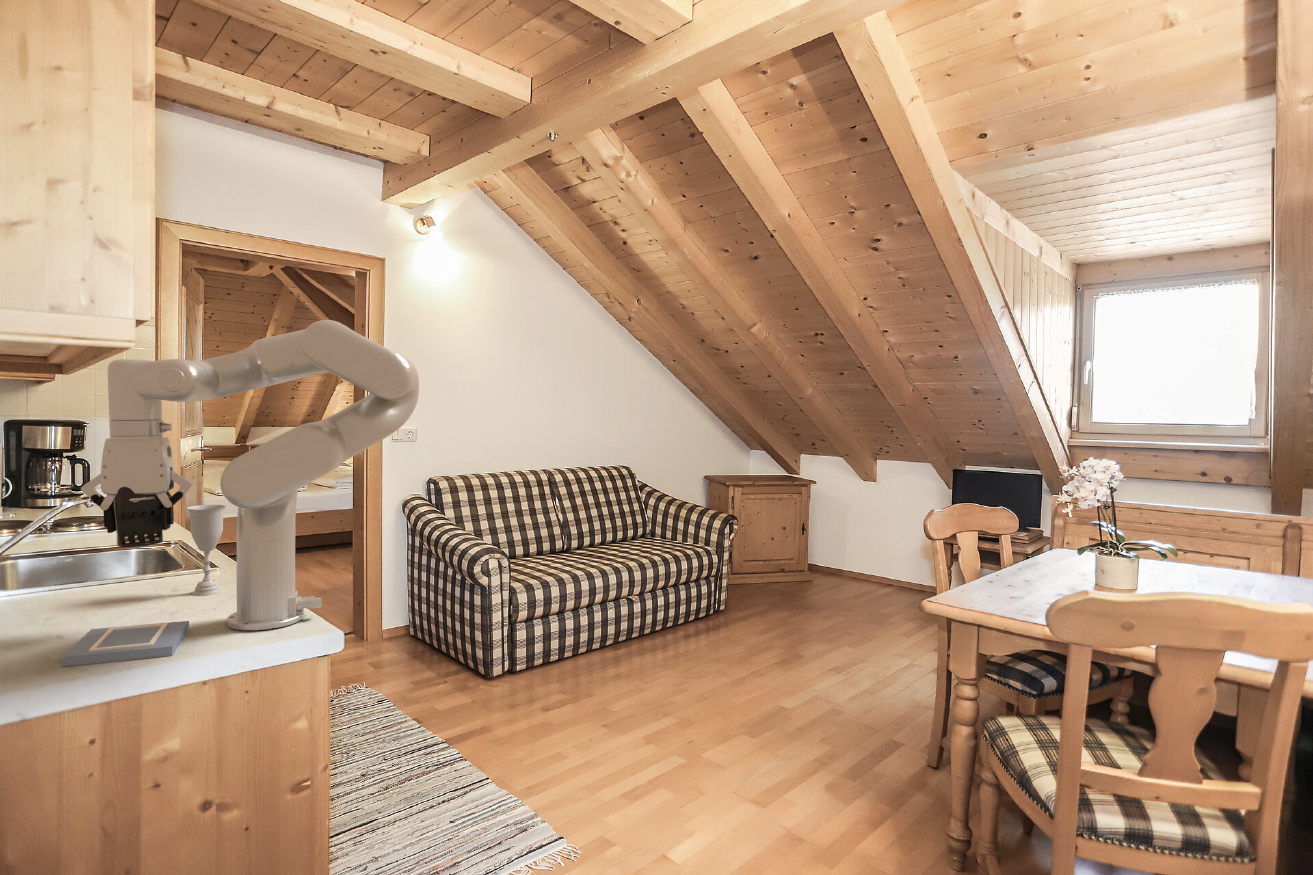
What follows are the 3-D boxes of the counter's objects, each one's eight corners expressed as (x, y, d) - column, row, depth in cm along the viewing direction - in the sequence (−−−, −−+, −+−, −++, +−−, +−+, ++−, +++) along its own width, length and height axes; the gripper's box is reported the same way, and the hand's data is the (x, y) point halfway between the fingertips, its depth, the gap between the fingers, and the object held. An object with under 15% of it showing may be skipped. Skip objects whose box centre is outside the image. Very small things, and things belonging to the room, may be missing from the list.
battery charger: (119, 550, 123) (116, 484, 122) (114, 547, 126) (112, 482, 125) (167, 544, 128) (165, 480, 127) (162, 541, 131) (160, 479, 130)
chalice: (184, 591, 150) (184, 506, 150) (221, 586, 155) (221, 503, 154) (191, 598, 145) (190, 510, 144) (229, 593, 150) (229, 508, 149)
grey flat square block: (189, 629, 127) (188, 619, 127) (172, 655, 114) (172, 644, 114) (91, 637, 121) (91, 627, 121) (62, 666, 108) (62, 654, 108)
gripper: (199, 428, 132) (201, 523, 133) (84, 429, 126) (87, 529, 127) (188, 430, 125) (191, 531, 126) (66, 431, 119) (70, 537, 120)
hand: (139, 529), depth 127 cm, fingers closed on battery charger, 7 cm apart
